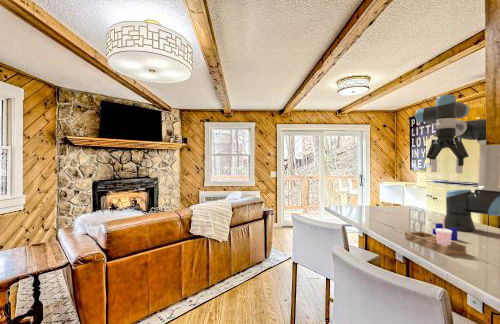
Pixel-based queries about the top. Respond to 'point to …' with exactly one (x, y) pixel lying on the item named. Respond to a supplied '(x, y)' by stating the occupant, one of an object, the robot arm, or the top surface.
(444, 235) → the beverage cup
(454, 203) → the robot arm
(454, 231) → the blue notched block
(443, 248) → the wooden holder tray
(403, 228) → the top surface
